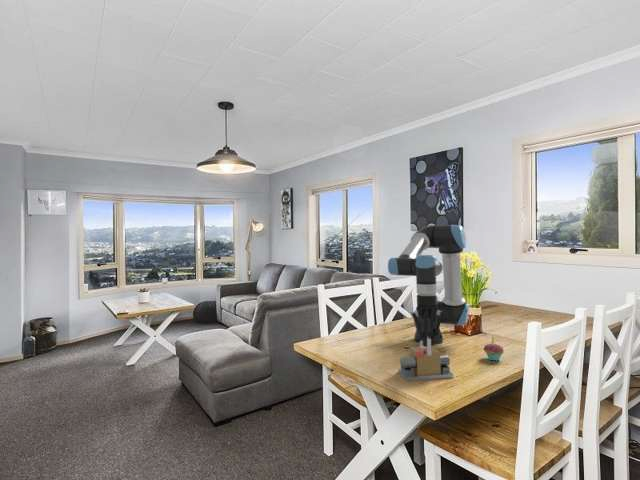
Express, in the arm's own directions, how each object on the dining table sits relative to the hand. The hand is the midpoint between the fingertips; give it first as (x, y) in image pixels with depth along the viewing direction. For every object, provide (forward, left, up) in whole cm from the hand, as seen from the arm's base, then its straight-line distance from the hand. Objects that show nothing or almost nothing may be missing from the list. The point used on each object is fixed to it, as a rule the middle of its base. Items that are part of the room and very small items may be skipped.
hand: (428, 354), depth 142 cm
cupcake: (-42, -22, -12) cm, 48 cm away
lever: (0, -5, -1) cm, 5 cm away
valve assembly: (-3, -10, -12) cm, 15 cm away
